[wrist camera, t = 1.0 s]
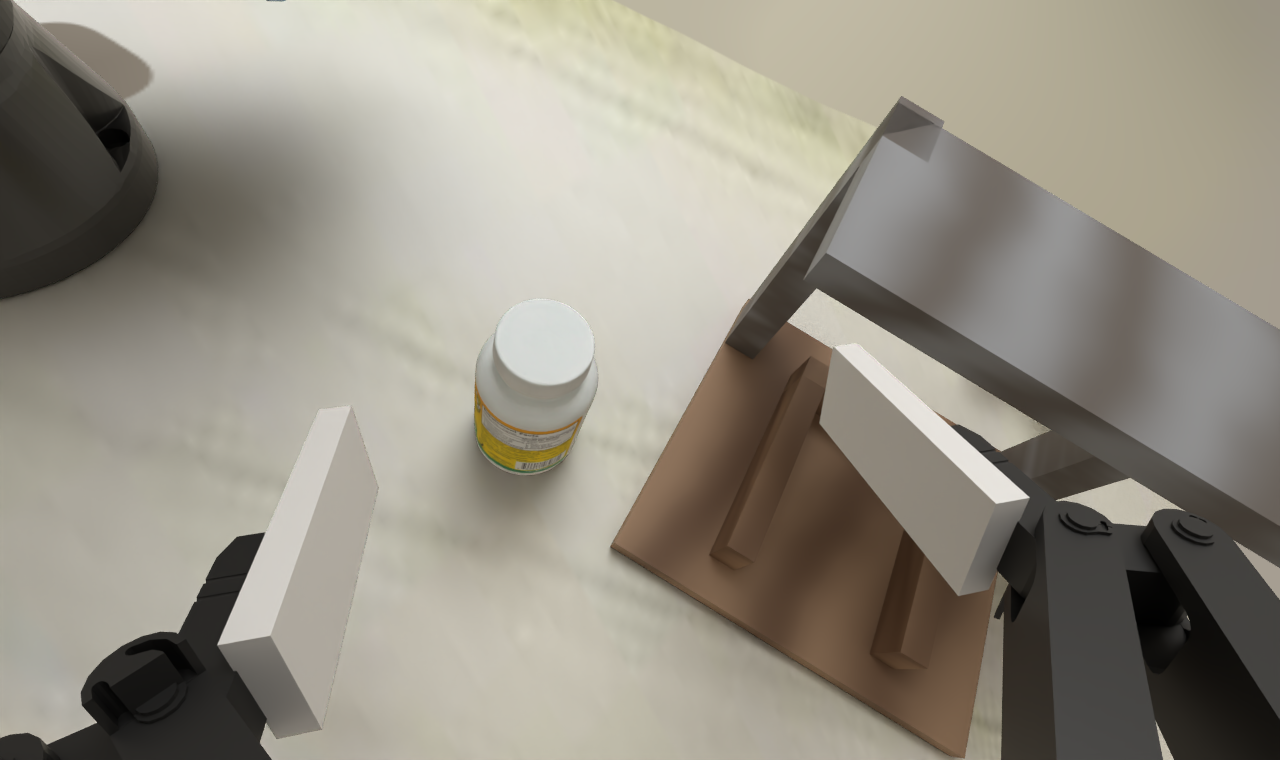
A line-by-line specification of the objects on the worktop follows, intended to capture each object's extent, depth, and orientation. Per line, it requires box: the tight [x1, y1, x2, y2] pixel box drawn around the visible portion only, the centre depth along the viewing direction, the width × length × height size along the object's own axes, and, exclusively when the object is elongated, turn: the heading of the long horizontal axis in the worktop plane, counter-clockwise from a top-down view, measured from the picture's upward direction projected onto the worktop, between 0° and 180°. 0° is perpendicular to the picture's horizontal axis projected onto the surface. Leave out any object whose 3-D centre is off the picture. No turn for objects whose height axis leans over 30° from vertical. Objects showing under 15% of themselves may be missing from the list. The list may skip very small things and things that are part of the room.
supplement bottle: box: [474, 299, 598, 475], centre depth 28 cm, size 5×5×10 cm
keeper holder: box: [610, 96, 1280, 758], centre depth 27 cm, size 20×18×17 cm
